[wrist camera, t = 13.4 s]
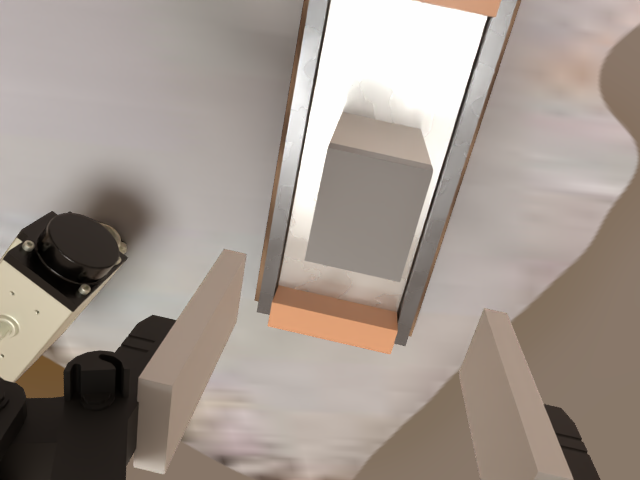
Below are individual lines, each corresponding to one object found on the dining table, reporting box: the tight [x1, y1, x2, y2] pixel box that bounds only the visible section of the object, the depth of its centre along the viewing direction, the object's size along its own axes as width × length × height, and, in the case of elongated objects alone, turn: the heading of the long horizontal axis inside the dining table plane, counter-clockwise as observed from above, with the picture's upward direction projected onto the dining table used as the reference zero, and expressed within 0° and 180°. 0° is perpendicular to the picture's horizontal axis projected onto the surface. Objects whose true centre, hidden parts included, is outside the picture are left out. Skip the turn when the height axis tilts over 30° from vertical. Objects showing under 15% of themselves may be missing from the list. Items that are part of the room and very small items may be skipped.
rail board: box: [255, 0, 521, 354], centre depth 33 cm, size 24×12×4 cm, turn 169°
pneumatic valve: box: [0, 211, 127, 383], centre depth 34 cm, size 6×12×12 cm, turn 137°
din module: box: [304, 112, 433, 282], centre depth 29 cm, size 6×5×9 cm
